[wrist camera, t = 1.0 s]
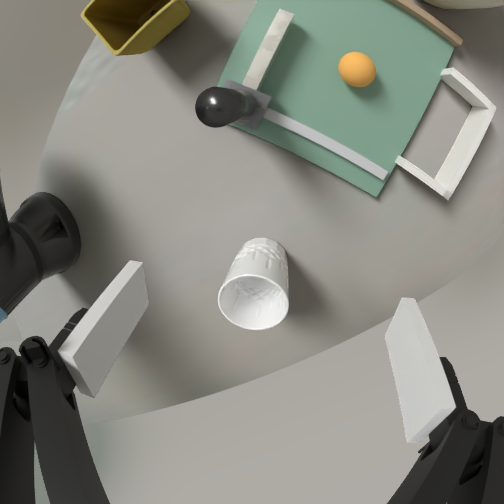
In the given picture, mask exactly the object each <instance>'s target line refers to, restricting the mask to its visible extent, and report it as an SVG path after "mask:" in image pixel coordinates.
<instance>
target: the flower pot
mask: <svg viewBox="0 0 504 504" xmlns="http://www.w3.org/2000/svg"><path fill="white" fill-rule="evenodd" d="M153 11H155V14H154V15H152V12H153ZM189 14H190V9H189V7H188V6H187V4H186V3H185V2H184V1H183V0H92V1H91V2H90V3H89V4H88V5H87V7H86V8H85V9H84V10H83V12H82V13H81V17H82V18H83V20H84V21H85V22H86V23H87V24H88V26H89V27H90V28H91V29H92V30H93V31H94V33H95V34H96V35H97V36H98V37H99V38H100V39H101V41H102V42H103V43H104V44H105V45H106V47H107V48H108V49H109V50H110V51H111V52H112V53H113V54H114V55H115V56H120V55H134V54H141V53H144V52H146V51H148V50H150V49H151V48H153V47H154V46H155V45H157V44H158V43H159V42H160V41H161V40H162V39H163V38H164V37H165V36H166V35H168V34H169V33H170V32H171V31H172V30H173V29H175V28H176V27H177V26H178V25H179V24H180V23H182V22H183V21H184V20H185V19H186V18H187V17H188V16H189Z"/></svg>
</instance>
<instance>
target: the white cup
mask: <svg viewBox="0 0 504 504" xmlns="http://www.w3.org/2000/svg"><path fill="white" fill-rule="evenodd" d="M218 304H219V307H220V310H221V312H222V313H223V315H224V316H225V317H226V318H227V319H228V320H229V321H231V322H232V323H234V324H235V325H237V326H239V327H242V328H245V329H250V330H264V329H269V328H272V327H274V326H276V325H278V324H279V323H280V322H281V321H282V320H283V319H284V318H285V317H286V315H287V313H288V309H289V278H288V260H287V256H286V253H285V250H284V249H283V248H282V247H281V246H280V244H279V243H278V242H276V241H273V240H271V239H269V238H254V239H252V240H250V241H248V242H246V243H245V244H244V245H243V247H242V248H241V249H240V251H239V253H238V255H237V256H236V258H235V260H234V262H233V264H232V265H231V267H230V269H229V272H228V274H227V276H226V278H225V280H224V282H223V285H222V287H221V289H220V291H219V294H218Z"/></svg>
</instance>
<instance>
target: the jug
mask: <svg viewBox="0 0 504 504" xmlns="http://www.w3.org/2000/svg"><path fill="white" fill-rule="evenodd" d="M423 1H425V2H427V3H429V4H431V5H433V6H436V7H439V8H443V9H478V8H493V7H499V6H502V5H504V0H423Z"/></svg>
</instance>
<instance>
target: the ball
mask: <svg viewBox="0 0 504 504" xmlns="http://www.w3.org/2000/svg"><path fill="white" fill-rule="evenodd" d="M338 71H339V74H340V76H341V78H342V79H343V80H344V81H345V82H346V83H347V84H349V85H351V86H354V87H364V86H367V85H369V84H370V83H371V82H372V81H373V80H374V78H375V75H376V68H375V65H374V63H373V61H372V60H371V59H370V58H369V57H368V56H367V55H365V54H363V53H360V52H350V53H347V54H345V55H344V56H343V57H342V58H341V59H340V61H339V64H338Z"/></svg>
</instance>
